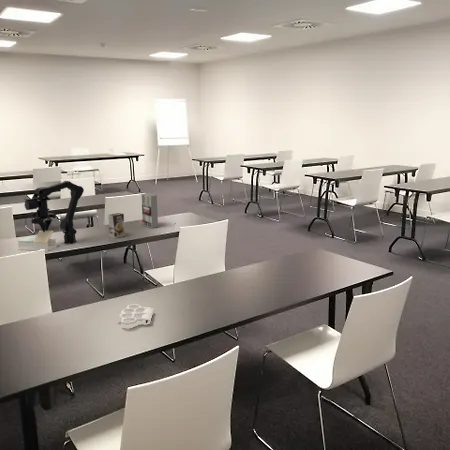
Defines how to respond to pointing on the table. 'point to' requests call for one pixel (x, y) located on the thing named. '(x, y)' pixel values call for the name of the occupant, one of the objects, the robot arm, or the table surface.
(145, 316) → the white flat holed piece
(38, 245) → the white tray
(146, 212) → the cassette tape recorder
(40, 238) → the lid inner
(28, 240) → the lid outer
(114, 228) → the coffee box
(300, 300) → the table surface
